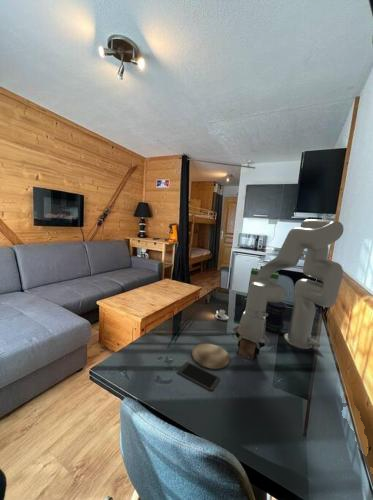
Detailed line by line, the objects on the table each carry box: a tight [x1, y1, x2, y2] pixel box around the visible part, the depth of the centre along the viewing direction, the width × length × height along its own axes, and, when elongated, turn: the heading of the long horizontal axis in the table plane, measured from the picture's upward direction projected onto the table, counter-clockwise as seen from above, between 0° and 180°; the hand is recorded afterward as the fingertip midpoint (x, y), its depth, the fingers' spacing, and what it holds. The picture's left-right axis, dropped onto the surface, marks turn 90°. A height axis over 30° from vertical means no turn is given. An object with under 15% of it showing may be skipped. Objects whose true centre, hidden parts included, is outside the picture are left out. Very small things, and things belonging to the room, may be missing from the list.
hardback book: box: [245, 267, 280, 304], centre depth 152 cm, size 18×7×24 cm, turn 70°
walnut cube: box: [238, 337, 256, 360], centre depth 92 cm, size 6×6×6 cm
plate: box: [191, 343, 231, 370], centre depth 87 cm, size 15×15×1 cm
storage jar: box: [265, 301, 288, 335], centre depth 116 cm, size 10×10×15 cm
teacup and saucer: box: [214, 309, 230, 321], centre depth 125 cm, size 9×8×4 cm
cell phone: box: [176, 361, 221, 392], centre depth 76 cm, size 7×14×1 cm, turn 60°
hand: (247, 351), depth 92 cm, fingers open, 6 cm apart
